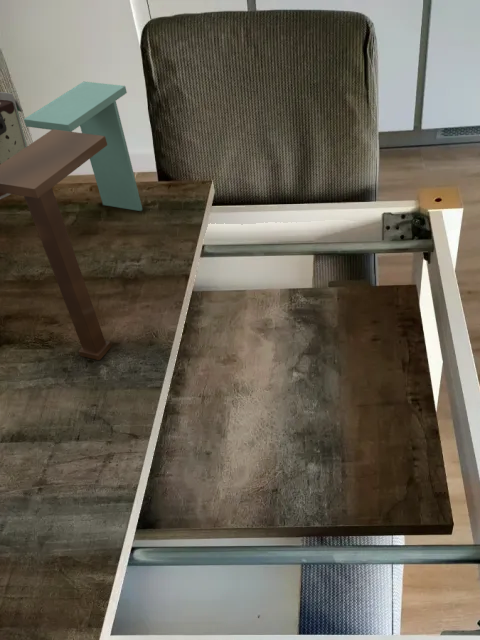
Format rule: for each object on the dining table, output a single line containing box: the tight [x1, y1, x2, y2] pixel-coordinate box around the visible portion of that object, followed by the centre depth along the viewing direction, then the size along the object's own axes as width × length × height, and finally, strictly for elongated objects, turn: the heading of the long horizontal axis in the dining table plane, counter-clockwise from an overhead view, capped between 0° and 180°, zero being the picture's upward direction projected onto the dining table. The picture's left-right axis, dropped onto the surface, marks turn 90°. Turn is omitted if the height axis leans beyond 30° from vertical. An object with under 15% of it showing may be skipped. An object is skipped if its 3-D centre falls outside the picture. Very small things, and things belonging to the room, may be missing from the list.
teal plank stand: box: [23, 81, 143, 212], centre depth 96 cm, size 7×14×18 cm, turn 160°
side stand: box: [0, 129, 113, 361], centre depth 76 cm, size 7×12×22 cm, turn 160°
